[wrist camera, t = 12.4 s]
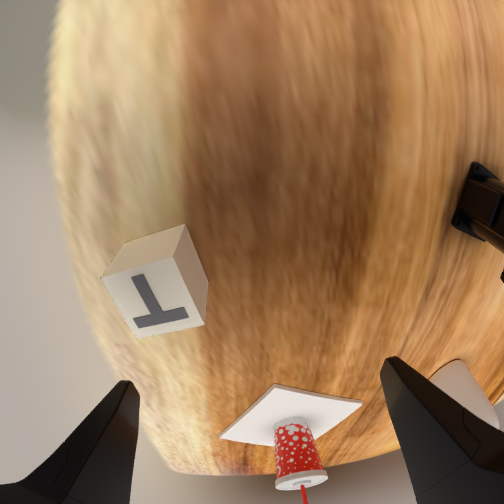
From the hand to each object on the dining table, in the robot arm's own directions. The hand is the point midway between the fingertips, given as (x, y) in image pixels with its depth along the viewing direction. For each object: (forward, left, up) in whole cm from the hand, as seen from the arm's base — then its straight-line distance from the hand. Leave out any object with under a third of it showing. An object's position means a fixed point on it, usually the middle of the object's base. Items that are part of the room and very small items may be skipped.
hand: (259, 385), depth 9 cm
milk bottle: (-35, +15, -13) cm, 40 cm away
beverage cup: (-12, +24, -12) cm, 29 cm away
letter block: (+5, +3, -13) cm, 14 cm away
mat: (-12, +24, -13) cm, 30 cm away
